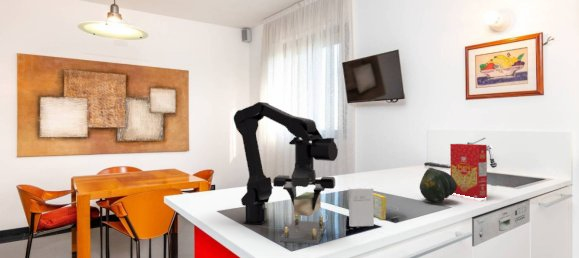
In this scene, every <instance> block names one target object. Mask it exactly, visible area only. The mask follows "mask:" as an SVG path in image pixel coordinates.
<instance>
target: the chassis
mask: <svg viewBox="0 0 579 258" xmlns="http://www.w3.org/2000/svg"><path fill="white" fill-rule="evenodd" d="M299 218H300V217H299V215H294V220H293V221H292V222H291V223H290V225H288V226H286V225H285V226H284V232H283V233H282V235H281V236H280V240H279V241H280V242H281V243H282V242H283V243H292V244H293V243H297V244H308V245H310V244H311V245H319V244H320V242H321V239H322V236H323V233H324V231H325V230H326V226H327V222H326V221H324V216H323V215H319V216H318V221H312V220H310V221H309V220H307V221H306V220H299Z"/></svg>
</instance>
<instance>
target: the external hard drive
mask: <svg viewBox="0 0 579 258" xmlns="http://www.w3.org/2000/svg"><path fill="white" fill-rule="evenodd" d="M373 193H374V188H373V187H358V188H357V187H356V188H353V187H351V188H348V219H349V220H348V226H349V227H352V228H353V227H374V224H375V220H374V219H375V216H374V203H373Z"/></svg>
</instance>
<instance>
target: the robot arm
mask: <svg viewBox="0 0 579 258" xmlns="http://www.w3.org/2000/svg"><path fill="white" fill-rule="evenodd" d="M263 118H268V119H269V120H271V121H273V122H275V123H277V124H280V125H282V126H283V127H284V128H286V130H287V131H288V132H289V133H290V134H291V135H293V136H294V137H293V138H292V139H291V140H290V141H289V142H288V143H289V145H292V146H293V145H294V154H295V155H294V169H293V171H292V174H291V175H283V174H281V175H277V176H275V177H274V178H273V182H272V179H271V176H269V177H267V176H266V175H265V173H264V169H263V165H262V160H261V154H260V148H259V144H258V138H257V131H258V128H259V122H260V121H261V120H262V119H263ZM233 122H234V124H235V128H236V130H237V131H238V133H239V134H240V135H241V138H242V144H243V148H244V149H243V150H244V155H245V160H246V164H247V170H248V179H247V181H246V182H247V183H246V192H245V193H244V195H243V196H242V197H241V199H240V202H241V206H243V207H244V206H245V220H244V221H243V224H249V225H251V224H252V225H263V224H264V223H265V222H266V221H267V220H268V218H267V217H268V214H267V210H268V209H267V207H266V203H269V200H270V197H271V195H272V194H273V189H274V187H279V188H282V189H283V190H286V192H287V193H288V195H289V197H290V199H291V202H292V206H293V207H294V198H295V197H297V187H303V188H308V186H314V188H313V192H314V197H313V210H314V209H315V206H316V203H317V200H318V197H319V195H320V193H321V192H324V191H325V189H330V190H332V189H335V187H336V178H335V177H334V176H322V177H321V178H316V177H317V175H316V174H317V173H316V170H315V169H314V161H326V162H334V161H335V160H337V158H338V155H339V154H338V152H339V151H338V150H339V149H338V146H337V144H336V142H335V138H334V137H326V138H323V136H322V135H321V132H320V131H319V130H318V128H317V124H316V122H315V121H314V120H313V119H310V118H305V117H302V116H295V115H292V114H290V113H288V112H286V111H284V110H282V109H280V108H278V107H276V106H274V105H271V104H269V103H268V102H261V101H257V102H255V103H254V104H253V105H250V106H246V107H245V108H242V109H239V110H237V111H236V112H235V113H234V115H233ZM272 183H273V184H272Z"/></svg>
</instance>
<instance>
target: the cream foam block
mask: <svg viewBox="0 0 579 258" xmlns="http://www.w3.org/2000/svg"><path fill="white" fill-rule="evenodd" d="M321 194H322V193H321V192H320V195H319V197H318V200H317V203H316V206H315V209H314V210H313V197H314V191H305V192H304V193H301V194H300V195H296V197H295V198H294V206H293V215H294V216H295V215H298V216H304V217H305V216H306V217H310V216H311V215H313V214H314V213H315V212H317V211H319V210H320V209H321V207H322V205H321V203H322V202H321V198H322V197H321V196H322V195H321Z"/></svg>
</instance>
